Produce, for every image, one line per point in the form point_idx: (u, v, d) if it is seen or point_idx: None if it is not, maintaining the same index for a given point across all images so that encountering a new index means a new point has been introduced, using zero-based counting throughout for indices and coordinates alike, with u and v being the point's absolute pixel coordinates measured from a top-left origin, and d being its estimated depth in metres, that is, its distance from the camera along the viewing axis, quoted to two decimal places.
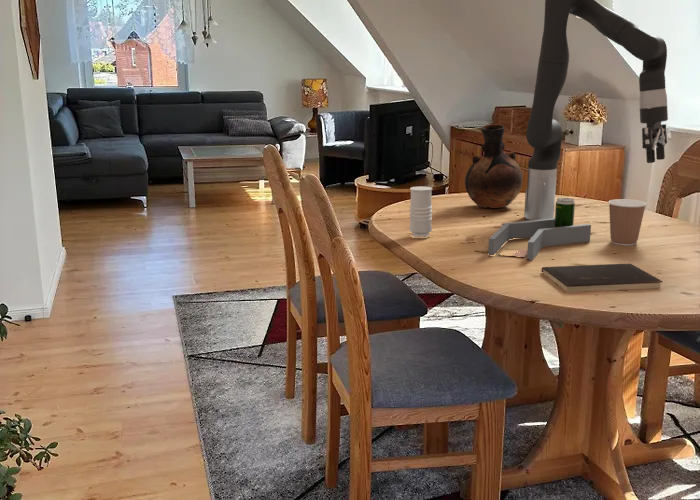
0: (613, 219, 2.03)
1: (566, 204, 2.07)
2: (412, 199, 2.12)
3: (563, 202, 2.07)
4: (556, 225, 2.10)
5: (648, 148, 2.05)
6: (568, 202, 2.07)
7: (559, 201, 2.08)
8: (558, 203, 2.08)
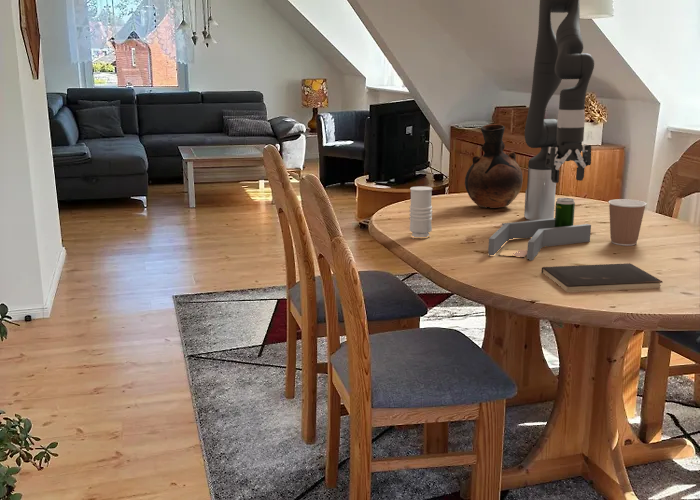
0: (613, 219, 2.03)
1: (566, 204, 2.07)
2: (412, 199, 2.12)
3: (563, 202, 2.07)
4: (556, 225, 2.10)
5: (550, 168, 2.04)
6: (568, 202, 2.07)
7: (559, 201, 2.08)
8: (558, 203, 2.08)
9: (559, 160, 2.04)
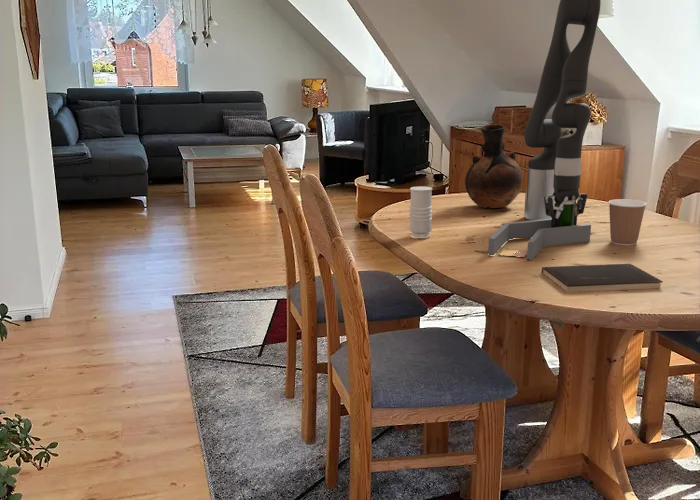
0: (613, 219, 2.03)
1: (566, 204, 2.07)
2: (412, 199, 2.12)
3: None
4: None
5: (550, 216, 2.08)
6: (568, 202, 2.07)
7: None
8: None
9: (558, 208, 2.08)
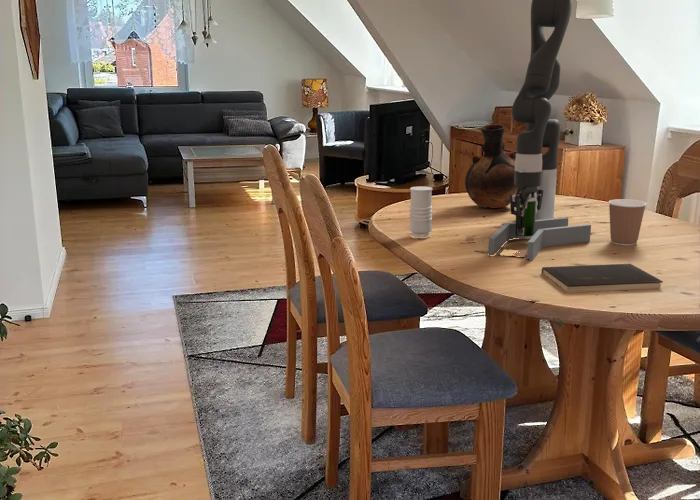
0: (613, 219, 2.03)
1: (530, 201, 2.02)
2: (412, 199, 2.12)
3: None
4: None
5: (516, 215, 2.02)
6: (532, 199, 2.02)
7: None
8: None
9: (522, 206, 2.02)
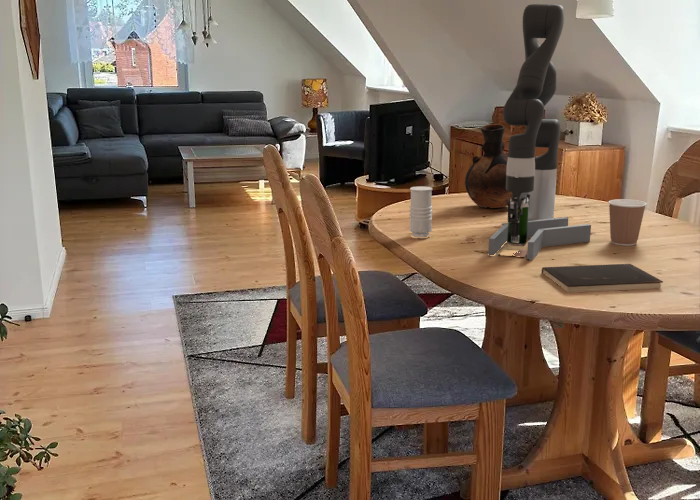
0: (613, 219, 2.03)
1: (525, 207, 1.93)
2: (412, 199, 2.12)
3: None
4: None
5: (513, 222, 1.92)
6: (526, 204, 1.93)
7: None
8: None
9: (518, 213, 1.92)
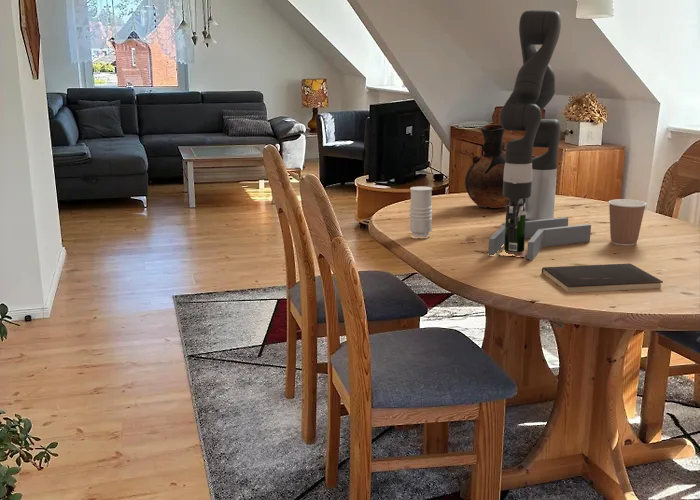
0: (613, 219, 2.03)
1: (523, 215, 1.91)
2: (412, 199, 2.12)
3: None
4: None
5: (511, 228, 1.88)
6: (524, 212, 1.91)
7: None
8: None
9: (516, 218, 1.89)
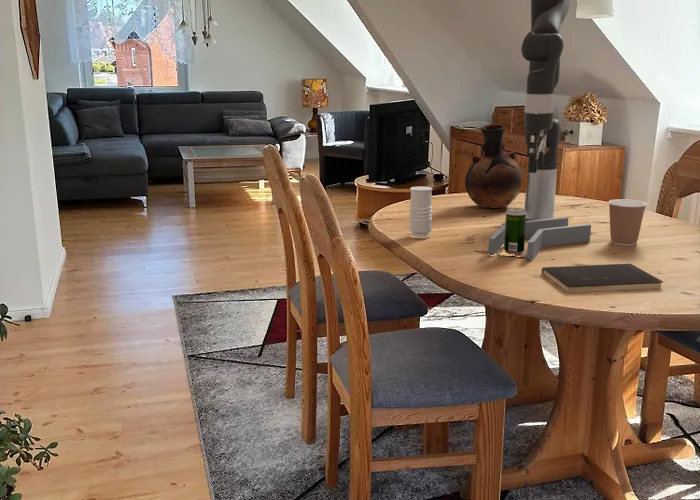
0: (613, 219, 2.03)
1: (523, 215, 1.91)
2: (412, 199, 2.12)
3: (520, 213, 1.91)
4: (512, 239, 1.92)
5: (532, 157, 1.90)
6: (524, 212, 1.91)
7: (515, 213, 1.91)
8: (514, 215, 1.91)
9: (537, 148, 1.91)
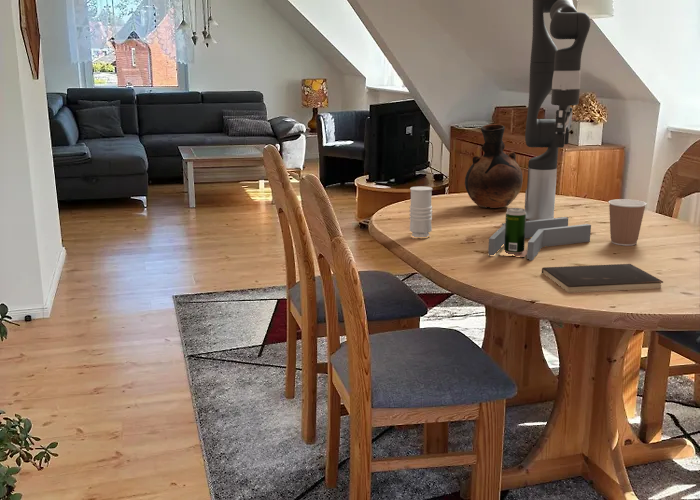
0: (613, 219, 2.03)
1: (523, 215, 1.91)
2: (412, 199, 2.12)
3: (520, 213, 1.91)
4: (512, 239, 1.92)
5: (560, 132, 1.95)
6: (524, 212, 1.91)
7: (515, 213, 1.91)
8: (514, 215, 1.91)
9: (565, 124, 1.96)
